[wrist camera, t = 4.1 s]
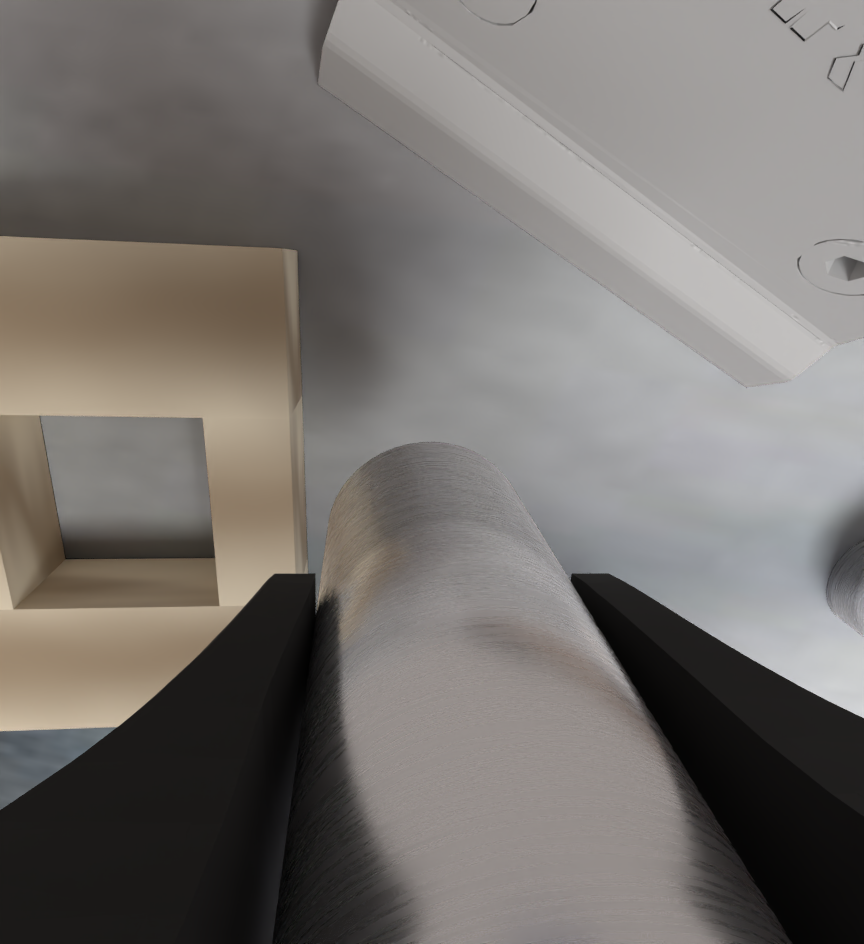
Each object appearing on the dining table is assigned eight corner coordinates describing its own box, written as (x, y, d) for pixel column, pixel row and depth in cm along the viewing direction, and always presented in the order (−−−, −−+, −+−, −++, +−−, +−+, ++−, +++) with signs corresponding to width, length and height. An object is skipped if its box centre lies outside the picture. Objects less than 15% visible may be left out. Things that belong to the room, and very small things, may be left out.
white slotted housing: (303, 74, 16) (359, -530, 6) (388, -69, 16) (565, -842, 6) (754, 394, 20) (1216, 339, 10) (812, 273, 20) (1304, 111, 11)
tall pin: (510, 619, 13) (769, 1284, 5) (325, 618, 13) (248, 1359, 4) (535, 446, 12) (965, 951, 3) (329, 437, 11) (220, 1007, 3)
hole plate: (311, 660, 22) (301, 720, 19) (18, 668, 21) (-38, 732, 18) (297, 250, 17) (282, 248, 14) (-80, 234, 16) (-177, 228, 13)
